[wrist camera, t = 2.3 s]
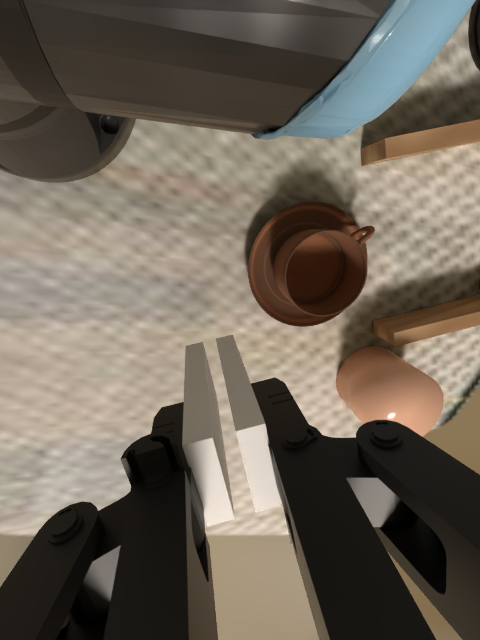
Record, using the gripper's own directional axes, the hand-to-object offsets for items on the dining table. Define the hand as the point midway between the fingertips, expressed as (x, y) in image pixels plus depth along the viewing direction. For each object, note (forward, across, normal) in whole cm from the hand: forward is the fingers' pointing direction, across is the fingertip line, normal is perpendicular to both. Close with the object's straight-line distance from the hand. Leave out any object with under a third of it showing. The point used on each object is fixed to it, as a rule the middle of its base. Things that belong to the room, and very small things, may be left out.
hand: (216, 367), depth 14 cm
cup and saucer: (+19, +10, 0) cm, 22 cm away
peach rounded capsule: (+19, +16, -15) cm, 29 cm away
